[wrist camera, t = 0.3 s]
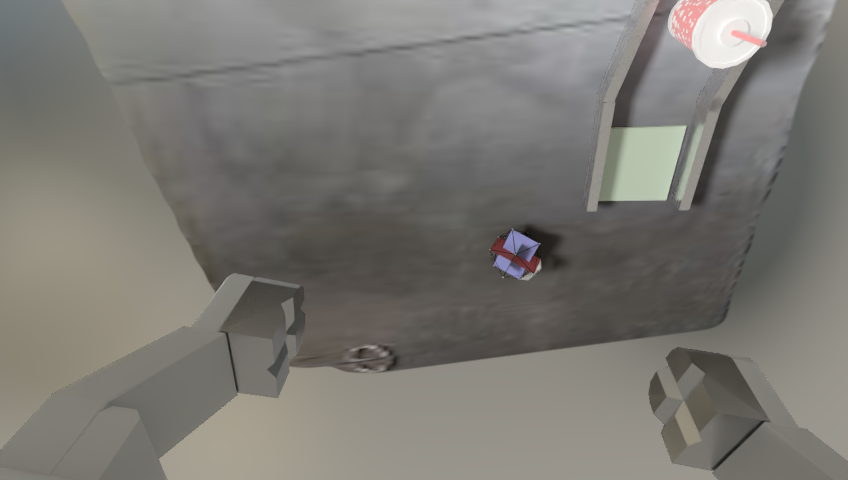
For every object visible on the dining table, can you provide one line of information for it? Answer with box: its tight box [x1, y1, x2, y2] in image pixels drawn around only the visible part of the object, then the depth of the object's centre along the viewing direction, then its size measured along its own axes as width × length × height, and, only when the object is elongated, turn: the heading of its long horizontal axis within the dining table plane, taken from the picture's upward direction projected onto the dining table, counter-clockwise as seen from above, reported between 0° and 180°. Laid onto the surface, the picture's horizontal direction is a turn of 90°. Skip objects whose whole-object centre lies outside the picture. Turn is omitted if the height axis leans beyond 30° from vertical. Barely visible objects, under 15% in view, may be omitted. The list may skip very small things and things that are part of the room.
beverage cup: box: [668, 0, 773, 69], centre depth 40 cm, size 6×6×14 cm
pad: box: [598, 125, 687, 201], centre depth 55 cm, size 10×9×1 cm
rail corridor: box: [582, 0, 784, 211], centre depth 50 cm, size 28×16×3 cm, turn 169°
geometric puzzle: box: [490, 229, 541, 280], centre depth 61 cm, size 7×7×8 cm
